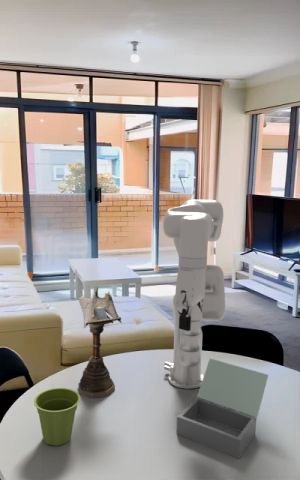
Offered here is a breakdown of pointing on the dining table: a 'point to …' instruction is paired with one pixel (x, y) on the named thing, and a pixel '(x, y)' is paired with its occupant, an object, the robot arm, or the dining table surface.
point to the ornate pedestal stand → (97, 344)
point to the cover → (233, 387)
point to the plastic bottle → (191, 339)
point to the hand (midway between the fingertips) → (190, 324)
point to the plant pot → (57, 414)
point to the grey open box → (215, 436)
